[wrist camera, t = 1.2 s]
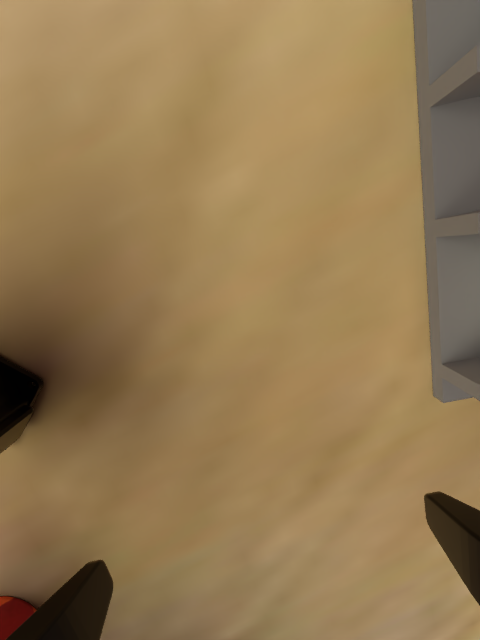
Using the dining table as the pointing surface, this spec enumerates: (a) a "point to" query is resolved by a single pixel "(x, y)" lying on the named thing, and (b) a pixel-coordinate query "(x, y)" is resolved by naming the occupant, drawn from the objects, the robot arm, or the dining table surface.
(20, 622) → the paper cup
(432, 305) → the grey compartment tray
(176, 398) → the dining table surface
